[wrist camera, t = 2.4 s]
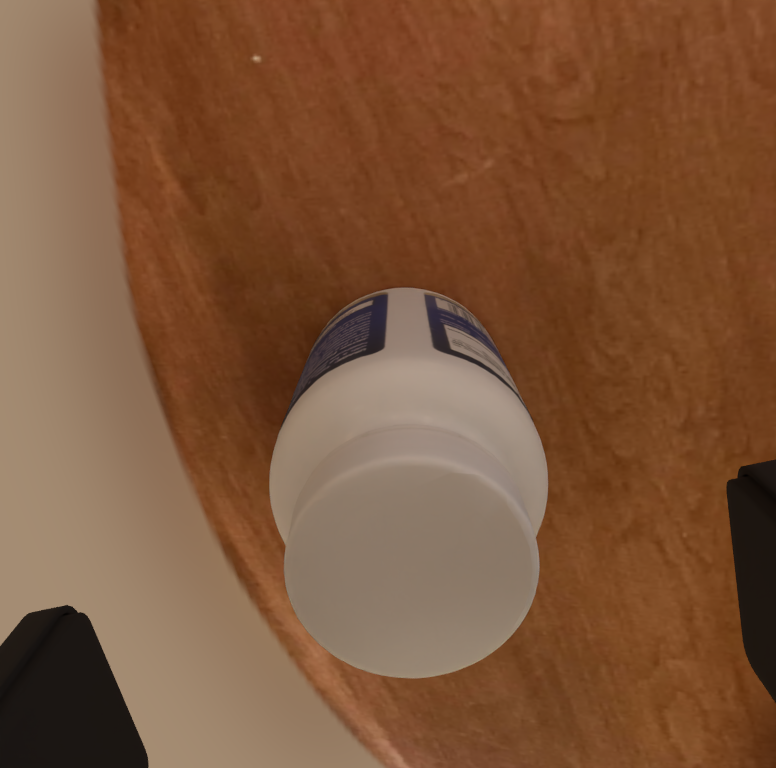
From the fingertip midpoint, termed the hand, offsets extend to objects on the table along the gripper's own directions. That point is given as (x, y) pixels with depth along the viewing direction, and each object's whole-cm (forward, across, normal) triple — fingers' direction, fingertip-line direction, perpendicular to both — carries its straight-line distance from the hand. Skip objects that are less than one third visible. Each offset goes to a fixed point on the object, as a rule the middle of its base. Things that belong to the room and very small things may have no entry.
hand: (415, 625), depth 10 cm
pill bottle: (+11, 0, 0) cm, 11 cm away
